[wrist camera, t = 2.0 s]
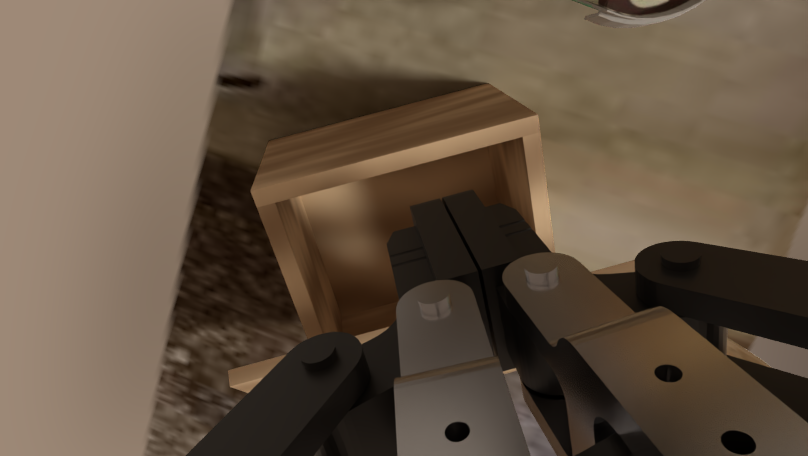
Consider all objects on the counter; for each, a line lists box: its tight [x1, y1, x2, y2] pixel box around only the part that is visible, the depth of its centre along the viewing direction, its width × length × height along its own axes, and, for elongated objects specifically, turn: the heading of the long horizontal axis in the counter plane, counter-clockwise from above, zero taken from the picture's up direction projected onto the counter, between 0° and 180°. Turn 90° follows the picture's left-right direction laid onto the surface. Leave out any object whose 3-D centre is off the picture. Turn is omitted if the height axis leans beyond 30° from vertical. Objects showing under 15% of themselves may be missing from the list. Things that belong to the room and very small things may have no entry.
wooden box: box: [251, 83, 555, 339], centre depth 37 cm, size 16×16×10 cm
